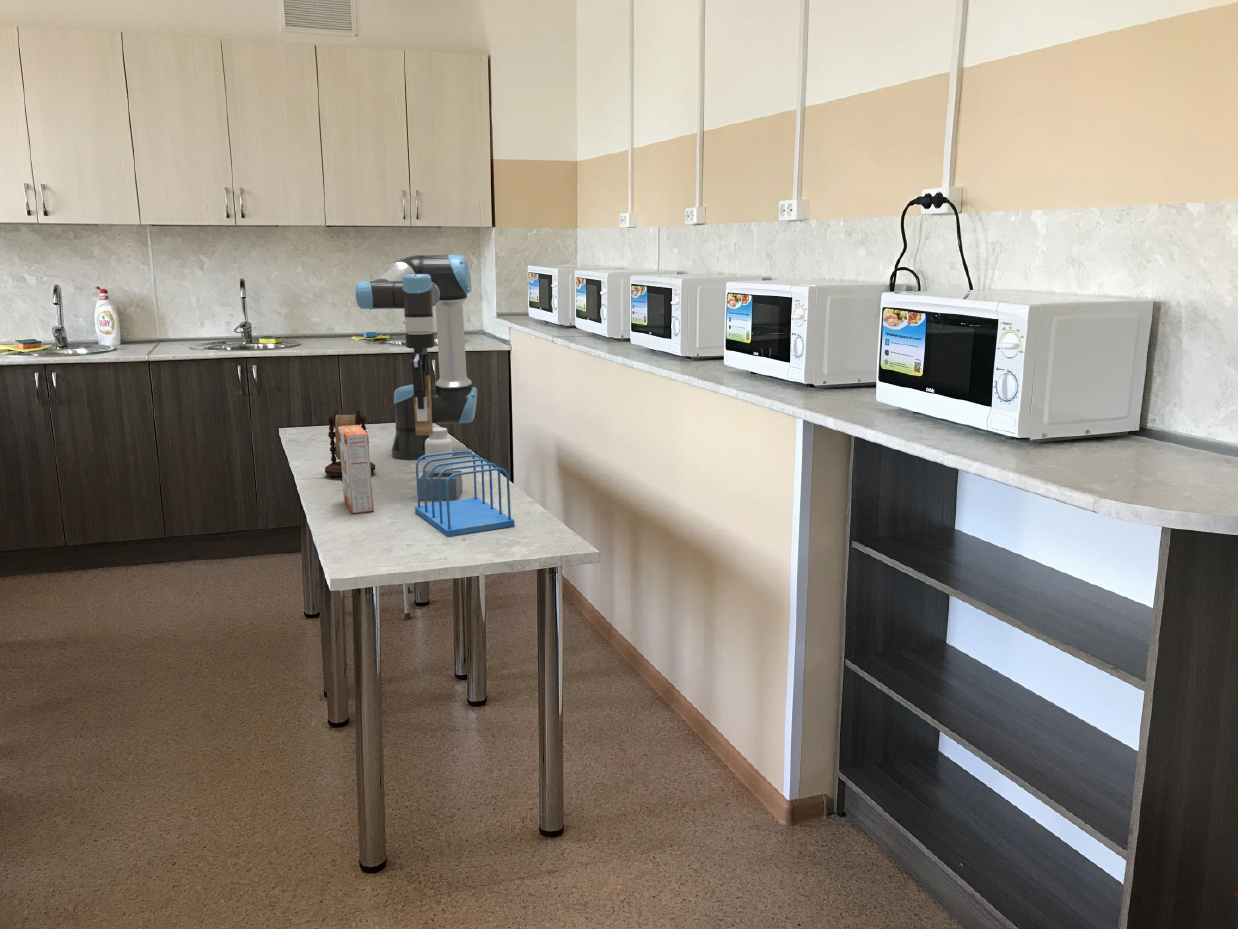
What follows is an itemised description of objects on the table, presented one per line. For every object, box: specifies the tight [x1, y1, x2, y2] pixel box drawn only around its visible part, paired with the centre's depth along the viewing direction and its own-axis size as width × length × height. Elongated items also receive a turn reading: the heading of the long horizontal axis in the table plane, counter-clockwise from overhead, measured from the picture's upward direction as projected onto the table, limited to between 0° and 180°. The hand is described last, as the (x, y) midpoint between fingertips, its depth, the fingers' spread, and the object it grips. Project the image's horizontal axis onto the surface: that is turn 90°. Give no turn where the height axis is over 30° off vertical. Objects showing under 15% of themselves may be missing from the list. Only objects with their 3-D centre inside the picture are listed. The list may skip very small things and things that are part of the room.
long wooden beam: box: [414, 374, 434, 435], centre depth 267 cm, size 3×4×16 cm
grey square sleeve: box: [419, 470, 463, 502], centre depth 271 cm, size 10×10×6 cm
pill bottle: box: [424, 426, 454, 471], centre depth 290 cm, size 8×8×15 cm
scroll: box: [324, 408, 377, 480], centre depth 296 cm, size 15×15×20 cm
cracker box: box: [338, 424, 374, 514], centre depth 259 cm, size 14×6×21 cm, turn 23°
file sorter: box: [414, 449, 516, 537], centre depth 247 cm, size 25×17×15 cm
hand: (423, 419), depth 268 cm, fingers closed on long wooden beam, 3 cm apart
